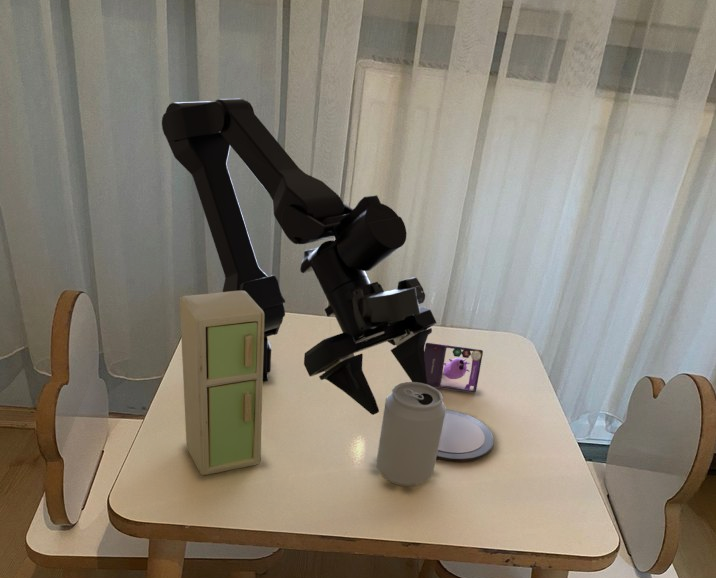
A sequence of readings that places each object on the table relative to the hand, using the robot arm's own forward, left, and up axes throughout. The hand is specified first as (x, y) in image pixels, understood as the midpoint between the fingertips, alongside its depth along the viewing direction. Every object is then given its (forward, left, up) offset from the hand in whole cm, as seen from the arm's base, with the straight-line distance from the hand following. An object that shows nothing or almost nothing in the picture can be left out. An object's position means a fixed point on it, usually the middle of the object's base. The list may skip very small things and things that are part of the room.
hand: (401, 402), depth 89 cm
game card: (+14, +22, -10) cm, 28 cm away
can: (+1, -2, -10) cm, 10 cm away
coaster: (+10, +7, -10) cm, 15 cm away
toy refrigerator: (-22, +2, -10) cm, 24 cm away
